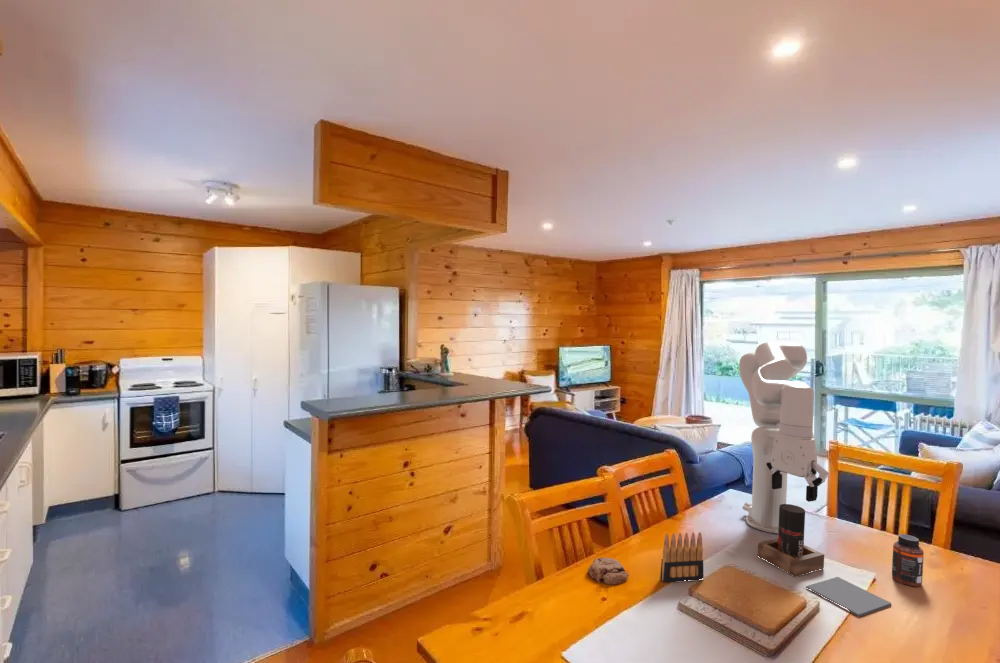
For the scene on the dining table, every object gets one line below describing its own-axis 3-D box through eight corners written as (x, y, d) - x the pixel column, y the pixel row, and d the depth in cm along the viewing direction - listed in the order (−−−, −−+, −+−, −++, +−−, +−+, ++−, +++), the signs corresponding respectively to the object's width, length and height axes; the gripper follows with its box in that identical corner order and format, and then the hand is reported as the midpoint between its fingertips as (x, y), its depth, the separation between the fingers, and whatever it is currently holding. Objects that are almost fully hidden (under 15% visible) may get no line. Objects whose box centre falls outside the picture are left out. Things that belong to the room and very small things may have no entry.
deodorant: (798, 571, 126) (800, 514, 126) (773, 562, 131) (776, 507, 130) (805, 563, 130) (808, 509, 130) (781, 555, 135) (784, 502, 134)
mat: (805, 588, 118) (806, 586, 118) (837, 579, 123) (837, 576, 123) (858, 617, 107) (858, 614, 107) (891, 605, 112) (891, 603, 112)
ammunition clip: (663, 583, 119) (665, 535, 119) (660, 579, 121) (661, 531, 120) (703, 580, 121) (705, 533, 120) (699, 576, 122) (701, 530, 122)
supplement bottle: (928, 589, 119) (930, 544, 119) (900, 586, 120) (902, 541, 120) (912, 576, 125) (914, 533, 125) (886, 573, 126) (888, 530, 126)
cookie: (622, 564, 128) (622, 553, 128) (632, 587, 117) (632, 575, 117) (584, 563, 128) (584, 552, 128) (591, 585, 118) (591, 573, 117)
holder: (757, 556, 133) (757, 542, 133) (784, 550, 138) (785, 536, 137) (795, 577, 123) (796, 561, 123) (823, 569, 127) (824, 554, 127)
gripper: (757, 425, 135) (755, 485, 136) (818, 439, 120) (816, 507, 120) (775, 423, 138) (773, 483, 139) (838, 437, 123) (835, 504, 123)
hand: (793, 494), depth 129 cm, fingers open, 9 cm apart
